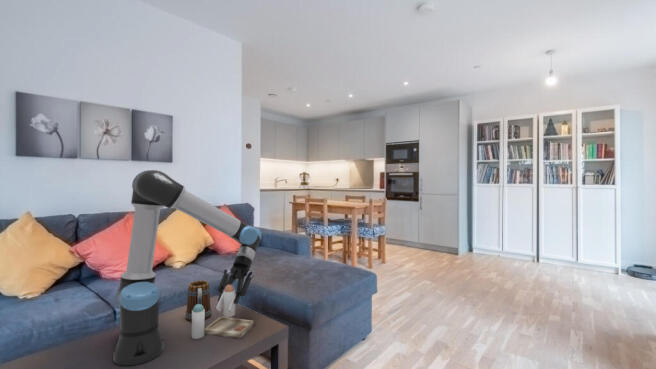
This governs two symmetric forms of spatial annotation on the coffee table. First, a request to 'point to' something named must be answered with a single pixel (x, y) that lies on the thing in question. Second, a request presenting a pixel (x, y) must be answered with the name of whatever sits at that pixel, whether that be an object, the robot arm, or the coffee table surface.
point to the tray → (229, 327)
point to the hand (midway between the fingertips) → (224, 310)
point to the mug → (198, 298)
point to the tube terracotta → (228, 300)
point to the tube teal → (198, 321)
